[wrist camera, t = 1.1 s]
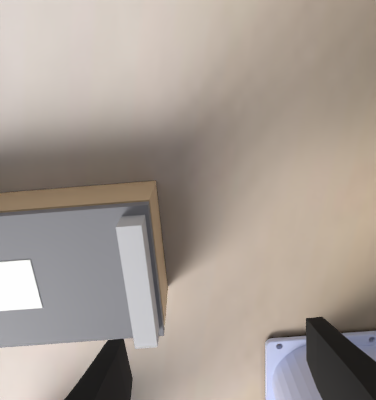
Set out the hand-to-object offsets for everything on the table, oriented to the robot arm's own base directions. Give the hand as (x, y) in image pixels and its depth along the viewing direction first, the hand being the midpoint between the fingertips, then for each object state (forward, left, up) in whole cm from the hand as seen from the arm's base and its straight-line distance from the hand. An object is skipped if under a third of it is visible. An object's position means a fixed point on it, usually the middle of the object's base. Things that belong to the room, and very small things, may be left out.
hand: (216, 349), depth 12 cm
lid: (+10, -1, -6) cm, 11 cm away
